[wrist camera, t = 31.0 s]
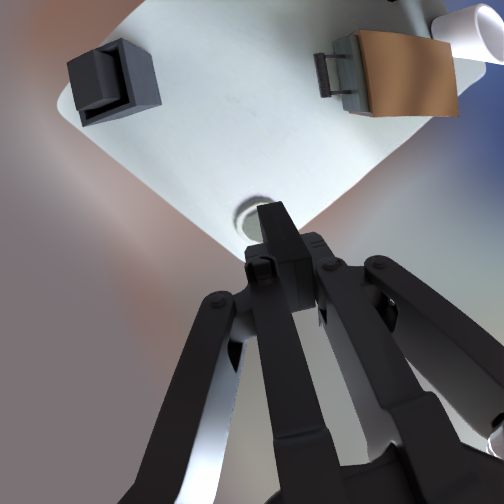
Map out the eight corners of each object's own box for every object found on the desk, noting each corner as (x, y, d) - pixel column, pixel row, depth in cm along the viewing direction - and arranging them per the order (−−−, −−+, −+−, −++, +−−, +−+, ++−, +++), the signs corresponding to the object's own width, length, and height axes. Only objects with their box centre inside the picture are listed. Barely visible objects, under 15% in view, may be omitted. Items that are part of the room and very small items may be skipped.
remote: (127, 106, 33) (74, 112, 19) (120, 74, 30) (64, 63, 17) (148, 99, 33) (103, 99, 19) (140, 66, 30) (93, 49, 17)
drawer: (315, 112, 36) (330, 115, 31) (303, 43, 31) (316, 34, 26) (422, 107, 36) (444, 111, 31) (414, 47, 31) (436, 44, 25)
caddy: (121, 118, 34) (82, 127, 23) (110, 70, 30) (68, 61, 19) (162, 104, 34) (136, 106, 23) (151, 55, 30) (122, 37, 19)
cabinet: (349, 113, 37) (373, 117, 30) (336, 39, 31) (359, 29, 24) (429, 111, 37) (458, 117, 30) (420, 46, 31) (450, 43, 24)
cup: (434, 3, 26) (483, -7, 15) (468, 42, 29) (517, 42, 18) (414, 32, 30) (467, 24, 19) (450, 73, 33) (503, 77, 22)
